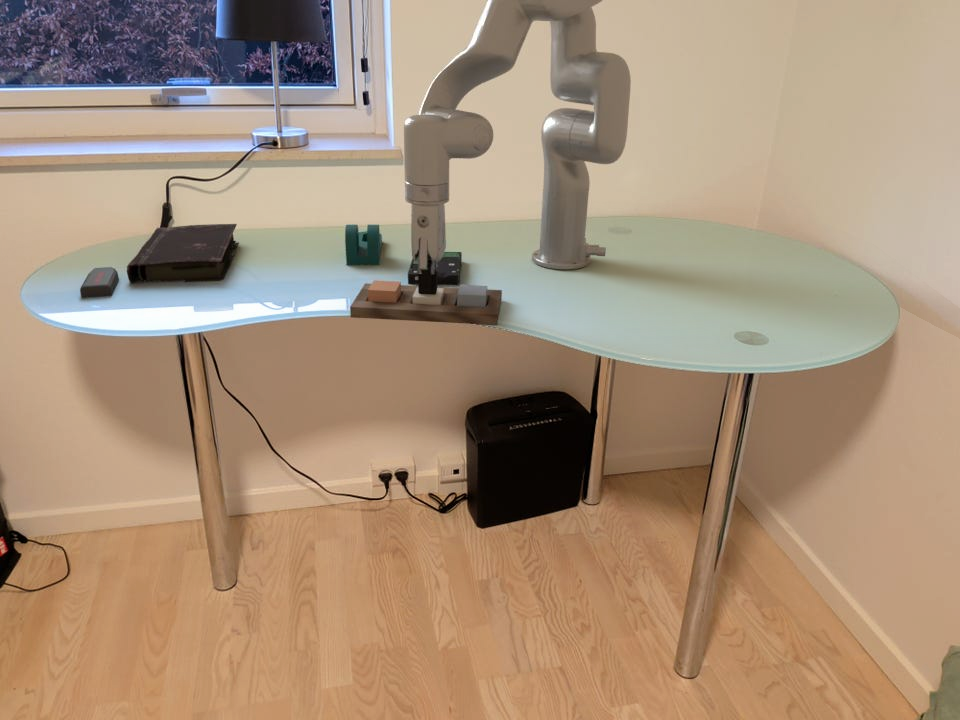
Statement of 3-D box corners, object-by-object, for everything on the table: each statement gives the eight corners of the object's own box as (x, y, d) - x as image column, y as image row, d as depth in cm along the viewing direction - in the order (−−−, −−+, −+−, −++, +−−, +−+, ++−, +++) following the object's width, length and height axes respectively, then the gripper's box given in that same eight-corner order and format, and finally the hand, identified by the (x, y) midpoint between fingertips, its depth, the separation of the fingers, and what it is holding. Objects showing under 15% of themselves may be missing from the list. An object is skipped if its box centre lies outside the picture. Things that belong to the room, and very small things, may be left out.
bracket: (379, 266, 158) (377, 229, 155) (346, 266, 158) (344, 229, 154) (382, 240, 174) (381, 207, 171) (353, 240, 174) (351, 207, 170)
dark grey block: (81, 300, 138) (78, 285, 137) (93, 278, 148) (90, 265, 147) (112, 297, 139) (109, 283, 138) (122, 276, 150) (119, 263, 148)
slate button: (487, 301, 138) (487, 285, 137) (484, 311, 133) (485, 295, 132) (460, 299, 138) (460, 284, 137) (457, 310, 134) (457, 294, 132)
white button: (443, 303, 139) (443, 288, 138) (440, 313, 134) (440, 298, 133) (417, 302, 139) (416, 287, 138) (412, 312, 135) (412, 296, 133)
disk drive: (460, 288, 148) (461, 263, 162) (460, 274, 147) (461, 250, 160) (407, 287, 148) (413, 262, 162) (407, 274, 147) (413, 249, 160)
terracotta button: (401, 296, 139) (400, 281, 138) (396, 306, 134) (395, 291, 133) (374, 295, 139) (373, 280, 138) (368, 305, 135) (367, 289, 133)
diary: (128, 287, 145) (123, 263, 143) (157, 248, 167) (152, 226, 165) (228, 283, 148) (224, 258, 146) (243, 244, 170) (240, 223, 168)
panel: (501, 300, 141) (501, 290, 140) (497, 325, 131) (497, 314, 130) (365, 293, 143) (365, 283, 142) (350, 317, 132) (350, 306, 131)
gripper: (443, 203, 120) (443, 309, 128) (454, 182, 134) (453, 280, 142) (397, 201, 121) (399, 307, 129) (412, 181, 134) (413, 278, 142)
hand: (427, 292), depth 135 cm, fingers closed
